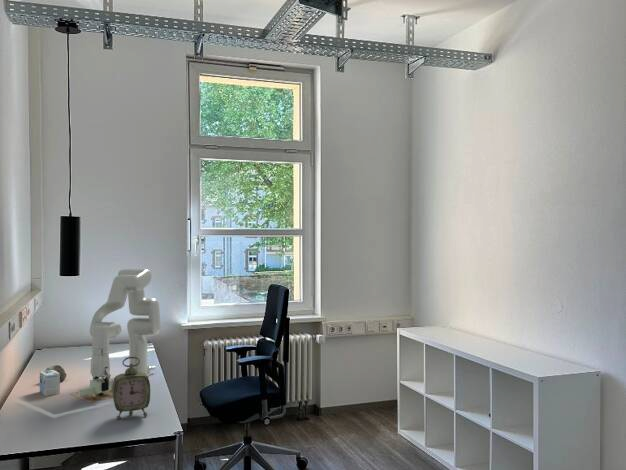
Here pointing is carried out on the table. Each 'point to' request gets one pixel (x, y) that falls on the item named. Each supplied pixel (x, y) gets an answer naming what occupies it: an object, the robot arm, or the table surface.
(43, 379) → the light bulb box
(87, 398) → the board
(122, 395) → the tabletop clock
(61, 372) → the carved stone stamp
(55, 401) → the table surface
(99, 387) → the hollow frame with stem
